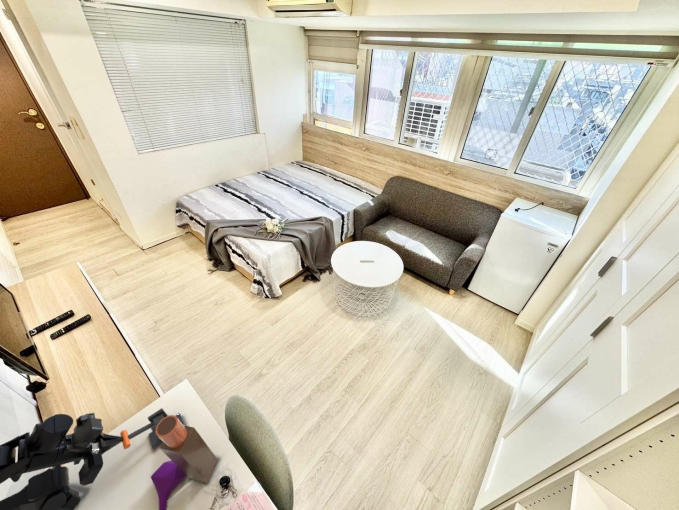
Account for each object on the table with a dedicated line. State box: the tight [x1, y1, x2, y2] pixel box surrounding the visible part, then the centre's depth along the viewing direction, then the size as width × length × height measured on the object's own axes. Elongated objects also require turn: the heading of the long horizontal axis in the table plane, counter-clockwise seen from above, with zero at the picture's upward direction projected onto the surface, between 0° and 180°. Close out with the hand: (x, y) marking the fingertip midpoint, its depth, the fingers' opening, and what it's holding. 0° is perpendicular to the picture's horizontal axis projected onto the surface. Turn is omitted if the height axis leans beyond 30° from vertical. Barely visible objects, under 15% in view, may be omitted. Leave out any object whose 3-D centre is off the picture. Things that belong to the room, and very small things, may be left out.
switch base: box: [147, 407, 186, 450], centre depth 91 cm, size 10×6×10 cm, turn 134°
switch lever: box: [119, 414, 164, 450], centre depth 86 cm, size 11×6×2 cm, turn 133°
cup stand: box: [158, 424, 219, 484], centre depth 77 cm, size 6×6×24 cm
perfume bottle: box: [150, 459, 188, 510], centre depth 77 cm, size 8×8×18 cm
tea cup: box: [156, 414, 187, 448], centre depth 68 cm, size 5×5×7 cm
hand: (122, 439), depth 82 cm, fingers closed, pressing on switch lever
